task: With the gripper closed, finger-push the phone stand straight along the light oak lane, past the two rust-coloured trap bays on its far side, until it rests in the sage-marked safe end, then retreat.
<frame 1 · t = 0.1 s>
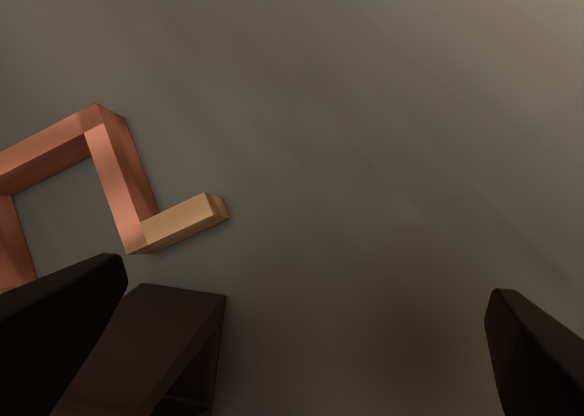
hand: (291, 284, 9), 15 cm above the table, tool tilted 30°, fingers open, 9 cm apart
phone stand: (177, 355, 25), on the table
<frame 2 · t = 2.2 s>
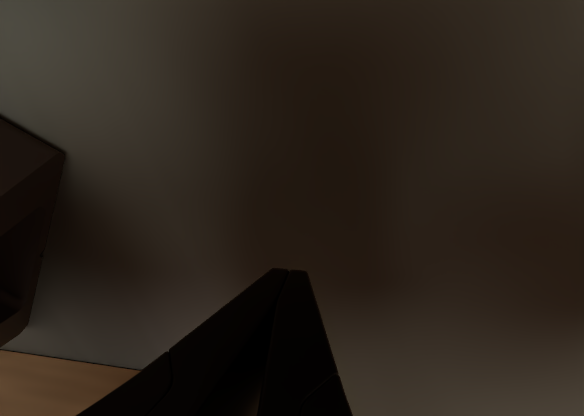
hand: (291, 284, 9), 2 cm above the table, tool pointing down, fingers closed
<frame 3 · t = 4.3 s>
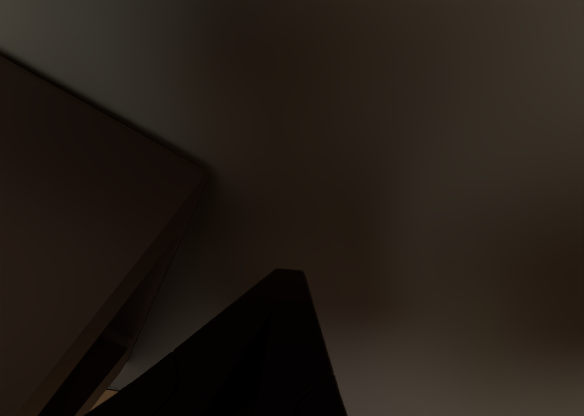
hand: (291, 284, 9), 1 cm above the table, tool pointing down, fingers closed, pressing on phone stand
phone stand: (77, 234, 11), on the table, touching gripper
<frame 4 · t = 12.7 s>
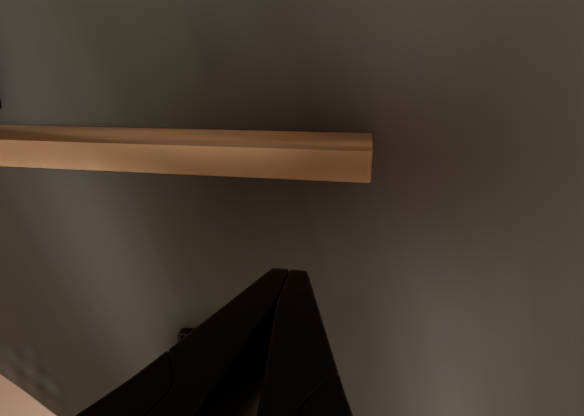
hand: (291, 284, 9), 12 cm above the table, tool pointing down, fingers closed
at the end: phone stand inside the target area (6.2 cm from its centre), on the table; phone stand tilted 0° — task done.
